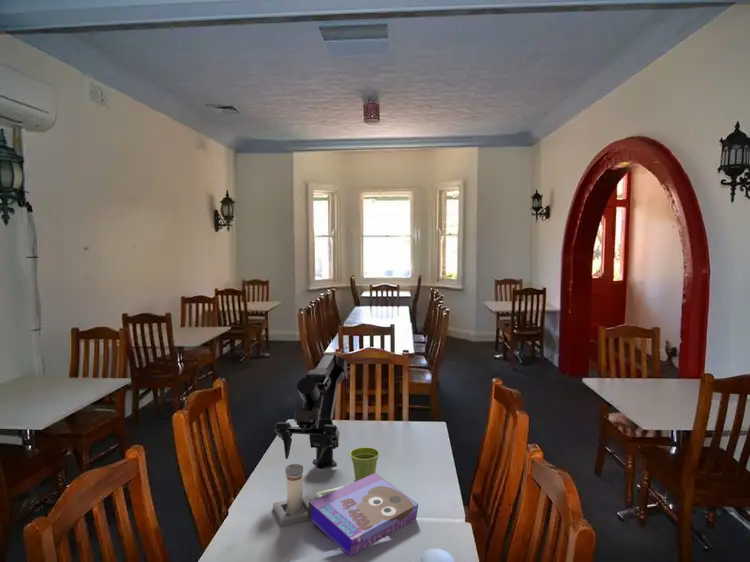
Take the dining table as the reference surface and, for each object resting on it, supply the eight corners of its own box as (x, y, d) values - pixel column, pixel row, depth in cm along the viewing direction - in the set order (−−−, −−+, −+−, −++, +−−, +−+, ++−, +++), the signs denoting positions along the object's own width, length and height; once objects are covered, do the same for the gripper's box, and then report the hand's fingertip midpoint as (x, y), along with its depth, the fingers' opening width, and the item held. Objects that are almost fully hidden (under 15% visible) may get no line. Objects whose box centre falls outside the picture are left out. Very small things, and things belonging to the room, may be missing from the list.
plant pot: (345, 475, 170) (345, 449, 169) (372, 470, 173) (372, 444, 172) (356, 488, 161) (356, 461, 160) (384, 482, 165) (384, 456, 164)
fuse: (284, 510, 147) (283, 466, 146) (301, 506, 149) (300, 462, 148) (288, 519, 143) (287, 473, 141) (306, 515, 144) (305, 469, 143)
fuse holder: (273, 511, 148) (273, 503, 148) (307, 503, 152) (307, 495, 152) (281, 530, 139) (281, 521, 139) (318, 521, 143) (317, 512, 143)
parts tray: (316, 500, 154) (316, 492, 154) (348, 492, 159) (348, 485, 158) (327, 516, 145) (327, 508, 145) (360, 508, 149) (360, 500, 149)
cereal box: (418, 504, 143) (351, 540, 127) (416, 519, 144) (349, 557, 128) (374, 472, 155) (308, 502, 139) (373, 487, 156) (307, 518, 140)
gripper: (275, 395, 157) (263, 446, 147) (336, 398, 154) (328, 450, 144) (284, 412, 165) (273, 461, 155) (342, 415, 162) (335, 465, 153)
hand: (301, 459), depth 152 cm, fingers open, 9 cm apart
